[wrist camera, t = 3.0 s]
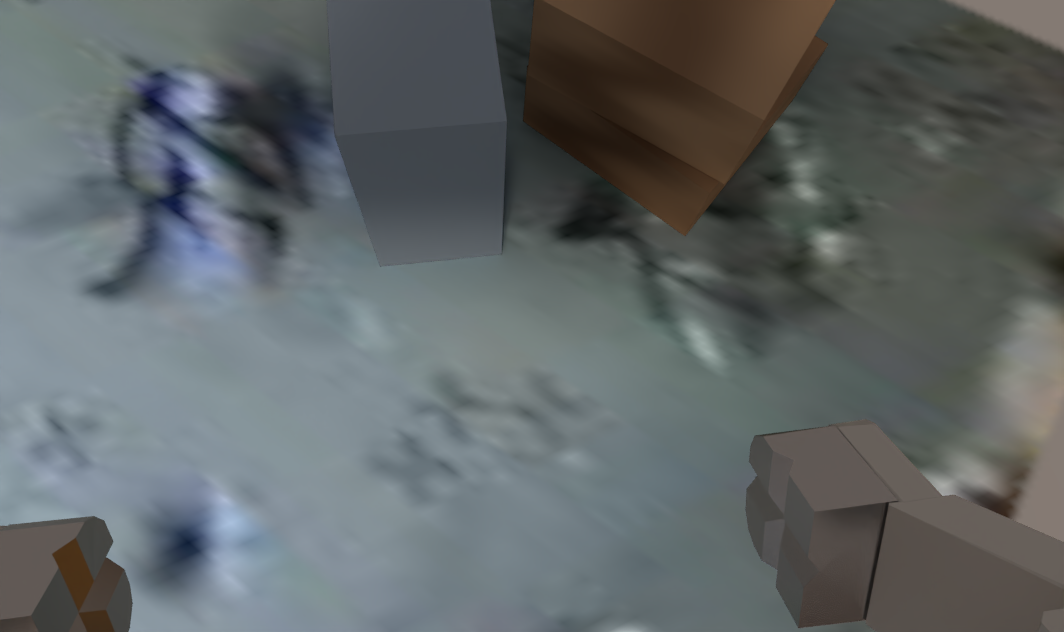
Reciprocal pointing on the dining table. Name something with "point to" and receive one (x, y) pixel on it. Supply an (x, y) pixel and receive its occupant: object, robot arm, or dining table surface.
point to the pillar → (421, 124)
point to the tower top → (676, 67)
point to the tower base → (644, 148)
